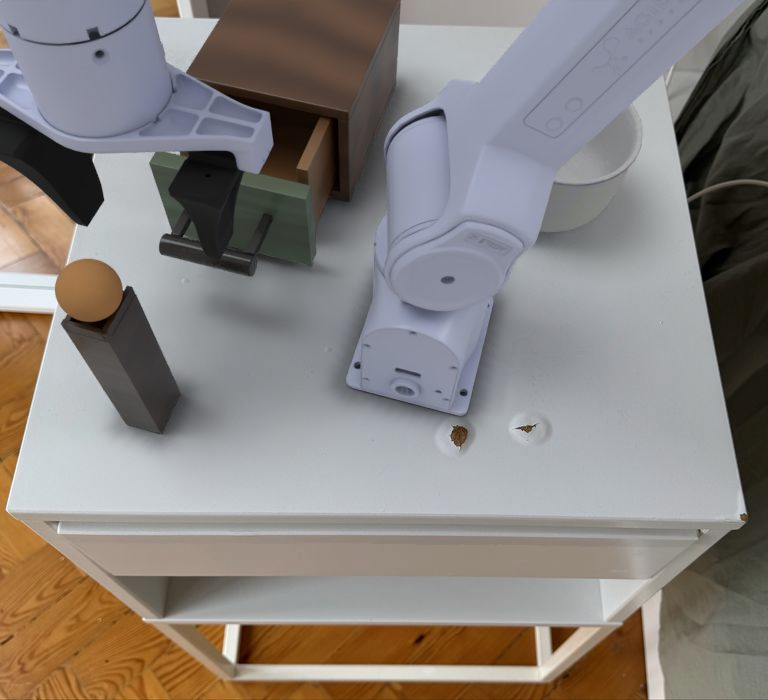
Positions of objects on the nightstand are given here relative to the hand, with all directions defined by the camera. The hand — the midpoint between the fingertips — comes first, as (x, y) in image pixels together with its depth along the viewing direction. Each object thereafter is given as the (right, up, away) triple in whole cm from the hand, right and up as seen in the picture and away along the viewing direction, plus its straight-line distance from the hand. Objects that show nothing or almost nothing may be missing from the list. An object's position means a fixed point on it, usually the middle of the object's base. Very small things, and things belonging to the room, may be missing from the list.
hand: (155, 228), depth 40 cm
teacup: (+23, +5, +16) cm, 28 cm away
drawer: (+3, +4, +13) cm, 14 cm away
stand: (-2, -10, +6) cm, 12 cm away
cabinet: (+6, +12, +19) cm, 23 cm away
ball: (-2, -4, -5) cm, 7 cm away
